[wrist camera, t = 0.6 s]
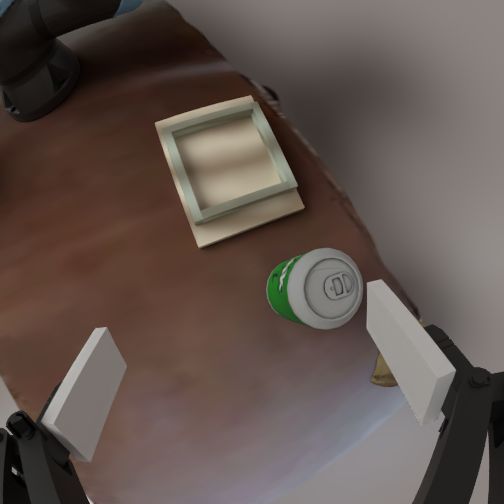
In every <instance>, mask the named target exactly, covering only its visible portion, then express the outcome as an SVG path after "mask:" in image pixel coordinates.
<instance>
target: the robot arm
mask: <svg viewBox="0 0 504 504" xmlns="http://www.w3.org/2000/svg"><path fill="white" fill-rule="evenodd" d="M142 1H143V0H0V93H1V97H2V101H3V104H4V107H5V109H6V111H7V112H8V113H9V115H10V116H11V117H12V118H13V119H15V120H17V121H20V122H27V121H31V120H35V119H37V118H39V117H41V116H43V115H45V114H47V113H48V112H50V111H51V110H53V109H54V108H55V107H56V106H58V105H59V104H60V103H61V102H62V101H63V100H64V99H65V98H66V97H67V96H68V94H69V93H70V92H71V90H72V89H73V87H74V86H75V84H76V82H77V80H78V78H79V74H80V63H79V61H78V59H77V57H76V55H75V53H74V52H73V51H72V50H71V49H70V48H68V47H67V46H66V45H65V44H63V43H62V42H61V41H60V40H58V39H57V38H56V37H58V36H61V35H63V34H66V33H68V32H71V31H73V30H76V29H79V28H82V27H85V26H87V25H90V24H93V23H97V22H100V21H103V20H106V19H110V18H115V17H116V16H118V15H121V14H124V13H127V12H130V11H133V10H135V9H136V8H138V7H139V6H140V5H141V3H142ZM367 330H368V332H369V333H370V335H371V337H372V339H373V340H374V342H375V344H376V345H377V347H378V349H379V351H380V352H381V354H382V356H383V358H384V359H385V361H386V363H387V365H388V367H389V368H390V370H391V372H392V374H393V376H394V377H395V379H396V381H397V383H398V385H399V386H400V388H401V390H402V392H403V394H404V396H405V398H406V399H407V401H408V403H409V405H410V407H411V409H412V411H413V413H414V415H415V417H416V419H417V420H418V422H419V424H420V426H422V425H425V424H427V423H429V422H431V421H434V420H436V419H438V416H439V414H440V412H441V410H442V412H443V414H444V415H445V419H444V421H443V423H442V426H441V428H440V430H439V432H440V435H439V438H438V441H437V444H436V447H435V450H434V452H433V455H432V458H431V461H430V463H429V466H428V468H427V471H426V473H425V476H424V479H423V481H422V483H421V486H420V488H419V490H418V492H417V495H416V497H415V499H414V501H413V503H412V504H469V501H470V498H471V495H472V492H473V489H474V486H475V482H476V479H477V475H478V472H479V468H480V464H481V460H482V456H483V451H484V447H485V441H486V437H487V432H488V436H489V494H488V504H504V372H499V373H494V374H491V373H490V372H488V371H487V370H486V369H483V368H480V367H476V368H475V367H473V366H472V365H471V364H470V362H469V361H468V360H467V359H466V357H465V356H464V355H463V354H462V353H461V351H460V350H459V349H458V348H457V346H456V345H454V343H453V342H452V340H451V339H449V337H448V336H447V335H446V333H444V331H443V330H442V329H440V328H438V327H436V326H434V325H430V326H426V327H422V326H421V325H420V324H419V322H418V321H417V320H416V319H415V318H414V316H413V315H412V314H411V313H410V312H409V310H408V309H407V308H406V307H405V306H404V305H403V303H402V302H401V301H400V300H399V299H398V298H397V296H396V295H395V294H394V293H393V292H392V291H391V289H390V288H389V287H388V286H387V285H386V284H385V283H384V282H383V280H382V279H380V280H376V281H372V282H367ZM126 368H127V365H126V363H125V362H124V360H123V358H122V356H121V354H120V352H119V350H118V349H117V347H116V345H115V343H114V341H113V339H112V337H111V335H110V333H109V331H108V329H107V327H104V328H95V330H94V331H93V333H92V334H91V336H90V338H89V339H88V341H87V342H86V344H85V346H84V347H83V349H82V350H81V352H80V354H79V355H78V357H77V358H76V360H75V362H74V363H73V365H72V367H71V368H70V370H69V372H68V373H67V375H66V377H65V379H64V380H63V381H61V382H60V383H59V384H58V385H57V386H56V387H55V389H54V390H53V392H52V394H51V397H49V399H48V401H47V403H46V404H45V406H44V408H43V410H42V412H41V414H40V415H39V417H38V419H37V421H36V423H34V422H33V420H32V419H31V418H30V417H29V416H28V415H27V413H26V412H24V411H17V412H15V413H13V414H12V415H11V416H10V417H9V419H8V420H7V423H6V427H7V428H8V429H9V431H10V432H11V433H12V434H13V435H10V434H9V433H8V432H7V431H6V430H5V429H4V428H0V504H90V503H89V501H88V499H87V497H86V494H85V492H84V490H83V488H82V486H81V483H80V481H79V479H78V476H77V474H76V471H75V469H74V466H73V464H72V462H71V460H70V459H69V458H68V457H69V454H70V453H71V454H72V455H73V456H74V457H75V458H76V459H77V460H79V461H84V462H90V463H91V460H92V457H93V454H94V451H95V449H96V446H97V443H98V440H99V437H100V435H101V432H102V429H103V426H104V424H105V421H106V418H107V416H108V413H109V410H110V408H111V405H112V403H113V400H114V398H115V395H116V393H117V390H118V388H119V385H120V383H121V380H122V378H123V375H124V373H125V370H126ZM12 467H13V468H14V469H15V470H16V471H17V475H15V474H14V473H13V472H12Z"/></svg>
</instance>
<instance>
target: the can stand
mask: <svg viewBox="0 0 504 504" xmlns="http://www.w3.org/2000/svg"><path fill="white" fill-rule="evenodd" d="M155 125H156V129H157V132H158V135H159V138H160V141H161V144H162V147H163V150H164V153H165V156H166V159H167V162H168V165H169V168H170V171H171V174H172V176H173V179H174V182H175V185H176V188H177V191H178V193H179V196H180V199H181V202H182V204H183V207H184V210H185V213H186V215H187V218H188V221H189V223H190V226H191V229H192V231H193V234H194V237H195V239H196V242H197V245H198V247H199V249H201V248H203V247H206V246H208V245H211V244H214V243H216V242H219V241H221V240H224V239H227V238H229V237H232V236H235V235H237V234H240V233H242V232H245V231H248V230H250V229H253V228H256V227H258V226H261V225H264V224H266V223H269V222H272V221H275V220H277V219H280V218H283V217H285V216H288V215H291V214H293V213H296V212H299V211H301V210H303V209H304V208H305V207H304V205H303V203H302V201H301V198H300V196H299V194H298V192H297V189H296V188H297V186H298V185H297V182H296V180H295V178H294V176H293V174H292V172H291V169H290V167H289V165H288V163H287V161H286V159H285V157H284V155H283V152H282V150H281V148H280V146H279V144H278V142H277V140H276V138H275V136H274V134H273V132H272V130H271V128H270V126H269V124H268V122H267V120H266V118H265V116H264V114H263V112H262V110H261V108H260V106H259V104H258V102H257V101H256V102H254V100H253V98H252V96H246V97H242V98H238V99H234V100H230V101H226V102H222V103H218V104H214V105H210V106H207V107H203V108H200V109H196V110H193V111H190V112H186V113H183V114H180V115H177V116H174V117H171V118H167V119H165V120H162V121H159V122H156V123H155Z"/></svg>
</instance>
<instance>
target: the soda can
mask: <svg viewBox="0 0 504 504" xmlns="http://www.w3.org/2000/svg"><path fill="white" fill-rule="evenodd" d="M266 292H267V299H268V301H269V303H270V305H271V307H272V309H273V310H274V311H275V312H276V313H277V314H278V315H280V316H282V317H284V318H286V319H288V320H291V321H294V322H297V323H301V324H304V325H307V326H310V327H313V328H318V329H332V328H336V327H339V326H341V325H343V324H344V323H346V322H348V321H349V320H350V319H351V318H352V317H353V315H354V314H355V313H356V312H357V310H358V308H359V305H360V303H361V301H362V295H363V282H362V276H361V274H360V271H359V269H358V267H357V265H356V264H355V263H354V261H353V260H352V259H351V258H350V257H349V256H348V255H346V254H344V253H343V252H341V251H340V250H335V249H331V248H322V249H315V250H313V251H310V252H308V253H305V254H302V255H300V256H297V257H295V258H292V259H289V260H287V261H285V262H283V263H281V264H279V265H278V266H277V267H276V268H275V269H274V270H273V271H272V273H271V275H270V277H269V278H268V282H267V288H266Z"/></svg>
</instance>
